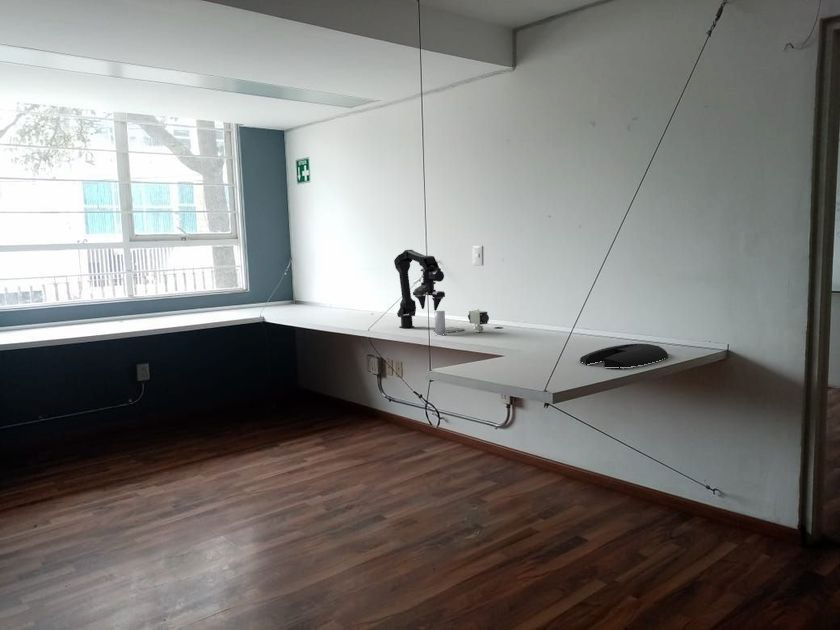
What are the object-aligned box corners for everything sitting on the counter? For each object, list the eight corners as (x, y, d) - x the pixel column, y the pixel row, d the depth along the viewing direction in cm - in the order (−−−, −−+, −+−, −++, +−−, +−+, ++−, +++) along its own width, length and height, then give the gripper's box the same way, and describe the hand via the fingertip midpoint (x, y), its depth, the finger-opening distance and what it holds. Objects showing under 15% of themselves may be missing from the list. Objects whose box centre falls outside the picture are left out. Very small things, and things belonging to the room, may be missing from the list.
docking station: (683, 356, 274) (683, 344, 273) (623, 373, 249) (623, 359, 248) (629, 349, 293) (629, 338, 292) (569, 364, 268) (569, 351, 267)
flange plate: (433, 331, 361) (433, 329, 361) (450, 328, 369) (450, 326, 369) (447, 333, 352) (447, 331, 352) (465, 330, 359) (465, 328, 359)
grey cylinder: (432, 334, 350) (431, 311, 348) (441, 333, 353) (440, 310, 352) (439, 335, 345) (438, 312, 343) (448, 334, 349) (447, 311, 347)
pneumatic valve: (482, 334, 346) (482, 310, 344) (468, 331, 355) (467, 308, 354) (490, 332, 349) (490, 309, 347) (476, 330, 358) (475, 307, 357)
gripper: (405, 280, 357) (405, 310, 359) (430, 282, 343) (430, 313, 346) (420, 278, 364) (420, 307, 367) (445, 280, 351) (445, 310, 353)
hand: (429, 309), depth 358 cm, fingers open, 9 cm apart
